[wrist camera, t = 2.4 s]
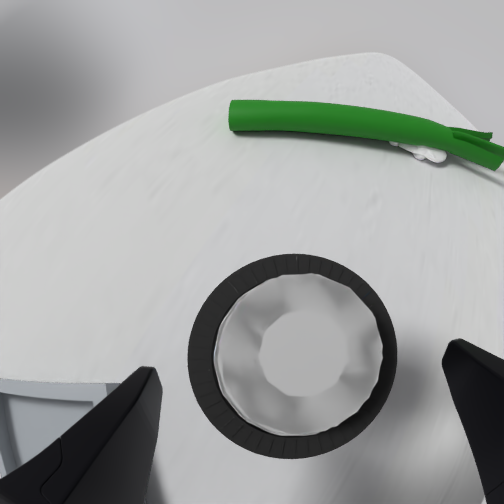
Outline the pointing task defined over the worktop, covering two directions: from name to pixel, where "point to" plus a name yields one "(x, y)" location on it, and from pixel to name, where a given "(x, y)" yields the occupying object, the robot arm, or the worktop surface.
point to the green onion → (367, 128)
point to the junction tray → (41, 415)
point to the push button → (292, 356)
